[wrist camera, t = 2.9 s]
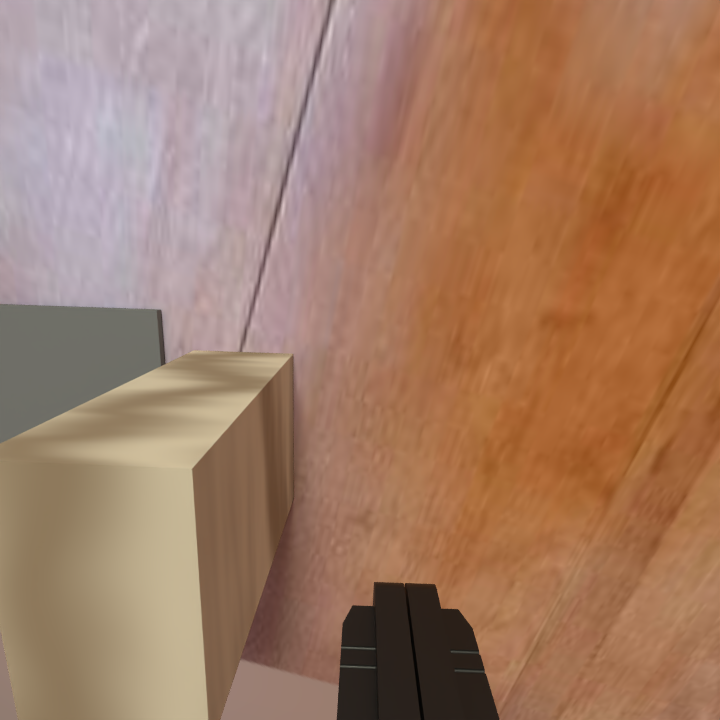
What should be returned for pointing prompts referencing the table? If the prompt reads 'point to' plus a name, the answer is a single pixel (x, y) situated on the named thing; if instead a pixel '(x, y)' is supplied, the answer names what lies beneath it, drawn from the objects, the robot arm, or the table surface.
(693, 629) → the table surface
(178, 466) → the ash block
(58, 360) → the mat
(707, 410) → the table surface
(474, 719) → the robot arm
